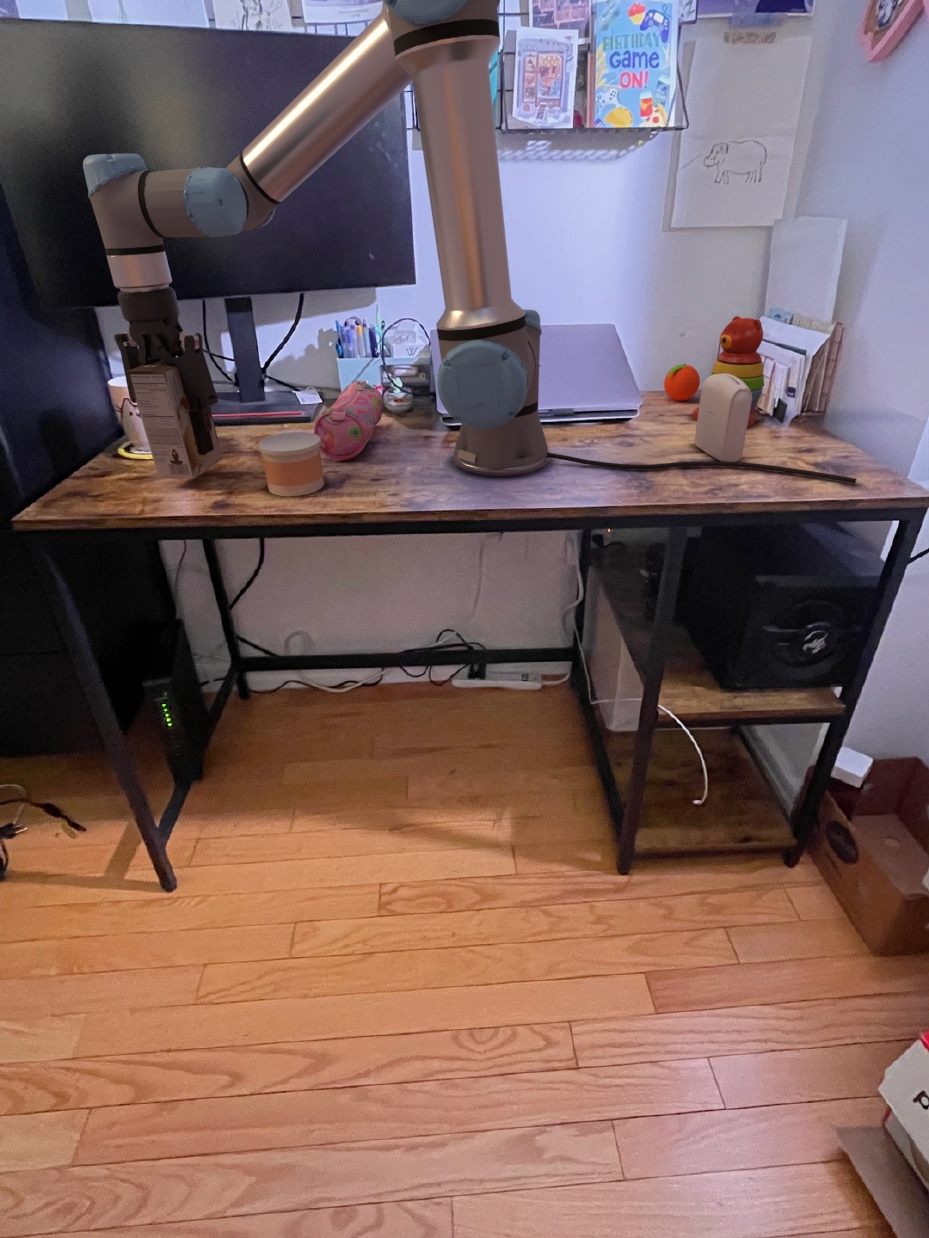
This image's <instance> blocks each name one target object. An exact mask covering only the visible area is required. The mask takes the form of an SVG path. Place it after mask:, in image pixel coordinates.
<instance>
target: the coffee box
mask: <svg viewBox="0 0 929 1238" xmlns="http://www.w3.org/2000/svg"><path fill="white" fill-rule="evenodd" d="M177 357H178V356H176V357H175V358H177ZM127 372H128V375H129V378H130V382H131V385H132V389H133V392H134V395H135V399H136V402H137V403H136V406H137V409H138V412H139V416H140V420H141V423H142V425H143V429H144V433H145V436H146V439H147V443H148V446H149V450H150V453H151V457H152V460H153V464H154V467H155V470H156V474H157V477H158V478H159V479H179V480H180V479H184V480H194V479H197V477H199V476H200V475H202V474H204V473H206V471H208V470H209V469H211V468H212V467H213V466H215V465H216V464H218V463H219V462H220V461H222V460H223V455H222V451H221V446H220V443H219V438H218V434H217V433H218V432H217V430H216V426H215V421H214V417H213V412H212V408H211V406H209V408H208V411H209V415H210V420H211V424H212V430H210V434H211V438H212V443H213V447H214V450H212V451H210V452H208V453H206V454H204V455H199V453H198V448H197V444H196V440H195V436H194V432H193V428H192V424H191V420H190V416H189V411H190V409H192V407H191V405H190V403H189V401H188V399H187V397H186V396H185V394H184V390H183V386H182V382H181V378H180V374H179V371H178V368H177V366H167V365H166V363H165V361H164V360H162V359H161V361H158V362H155V363H152V364H149V365H142V366H139V367H137V368H134V369H132V370H129V371H127Z"/></svg>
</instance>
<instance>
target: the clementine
mask: <svg viewBox="0 0 929 1238" xmlns="http://www.w3.org/2000/svg"><path fill="white" fill-rule="evenodd" d="M700 385H701V377H700V374H699V372H698V371H697V369H695V367H693V366H692V365H690V364H686V363H684V364H677V365H675V366H674V367H672V368H671V369H670V370H669V371H668V372H667V373H666V375H665V377H664V381H663V386H664V387H663V388H664V391H665V393H666V395H667V396H668V397H669V398H670V399H672V400H675V401H678V402H679V401H680V402H684V401H687V400H689V399H691V398H693V397H694V396H695V395H696V393H697V392H698V390H699V388H700Z"/></svg>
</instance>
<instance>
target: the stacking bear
mask: <svg viewBox="0 0 929 1238" xmlns="http://www.w3.org/2000/svg"><path fill="white" fill-rule="evenodd" d="M763 338H764V329H763V326H762V322H761V320H759V319H756V318H751V317H740V316H739V315H736V316H734V317H733V318H732V319H731V321H730V322H729V323H728V324H726V326H725V327H724V329H723V330H722V332H721V333H720V336H719V344H720V347H721V348H722V352H720V354H719V355H718V356H717V359H716V360H715V361H714V364H713V366H712V370H711V373H710V375H709V376H711V375H714V374H731V375H733V376H735V377H737V378H739V379H740V380H742V381H743V382H744V383H745V384H746V385H747V386H748V388H749V389H750V391H751V394H752V402H751V407H750V413H749V419H748V424H747V428H748V427H750V426H752V425H754V423H756V413H755V410H756V407H757V406H758V403H759V400H760V398H761V395H762V392H763V387H764V383H765V375H764V362H763V360H762V356H761V354H760V353H758V352H757V351H758V349H759V348H760V346H761V344H762V342H763ZM698 412H699V406H698V407H696V408H695V409H693V411H692V414H691V418H693V420H696V421H697V419H698Z"/></svg>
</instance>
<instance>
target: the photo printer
mask: <svg viewBox="0 0 929 1238" xmlns="http://www.w3.org/2000/svg"><path fill="white" fill-rule="evenodd" d="M700 391H701V392H700V398H699V399H700V400H699V405H698V407H699V412H698V419H697V420H696V428H695V434H694V446H696V447H697V448H698V449H700V450H701V451H703V452H705V453H706V454H707V455H709V456H710V457H713V458H714V459H716V460H718V461H726V462H739V460H741V459H742V456H743V452H744V447H745V440H746V436H747V435H746V434H747V429H748V427H747V424H748V419H749V413H750V407H751V402H752V394H751V391H750V389H749V388H748V386H747V385H746V384H745V383H744V382H743V381H742V380H740V379H739V378H737V377H735V376H733V375H731V374H714V375H711V376H710V375H709V376H707V378H706V379H705V380H704V381H703V384H702V386H701V390H700Z"/></svg>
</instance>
